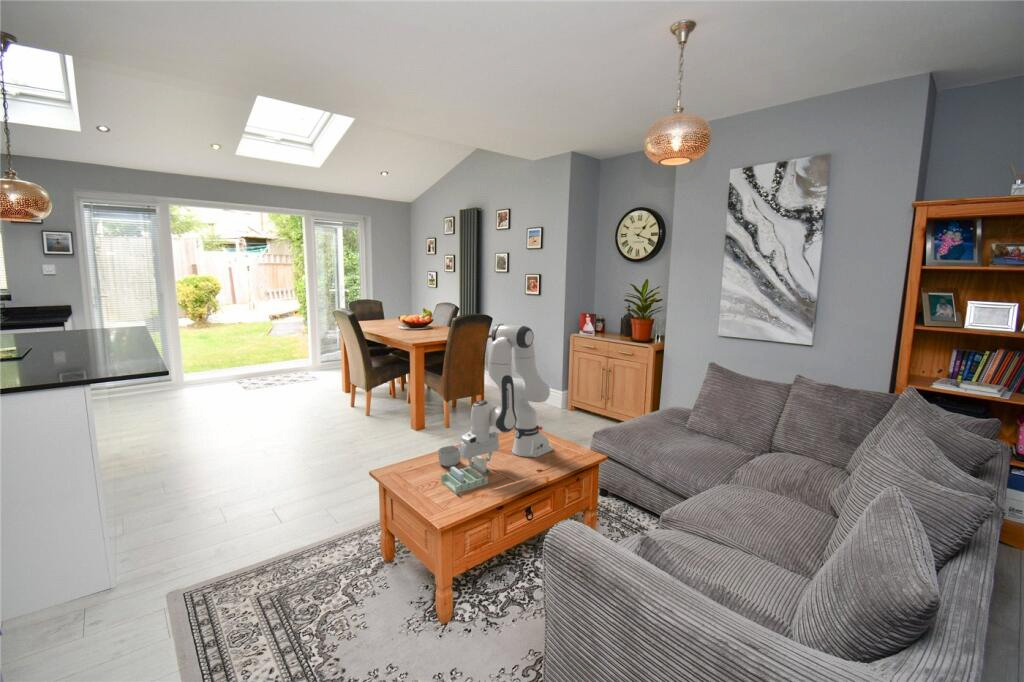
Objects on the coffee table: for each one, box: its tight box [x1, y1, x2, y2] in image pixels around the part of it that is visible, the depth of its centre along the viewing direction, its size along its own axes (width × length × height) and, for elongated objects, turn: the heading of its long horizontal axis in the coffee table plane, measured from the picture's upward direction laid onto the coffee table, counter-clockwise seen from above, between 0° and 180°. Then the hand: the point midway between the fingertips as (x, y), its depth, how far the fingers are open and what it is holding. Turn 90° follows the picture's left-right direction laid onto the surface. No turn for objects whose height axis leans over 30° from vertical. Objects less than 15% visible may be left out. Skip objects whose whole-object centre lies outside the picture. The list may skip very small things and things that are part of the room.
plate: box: [472, 455, 487, 472], centre depth 217 cm, size 2×9×6 cm, turn 35°
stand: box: [468, 464, 492, 476], centre depth 217 cm, size 5×13×2 cm, turn 35°
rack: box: [440, 466, 489, 495], centre depth 203 cm, size 16×14×7 cm
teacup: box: [437, 444, 461, 468], centre depth 224 cm, size 14×11×8 cm
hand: (479, 463), depth 216 cm, fingers open, 8 cm apart
